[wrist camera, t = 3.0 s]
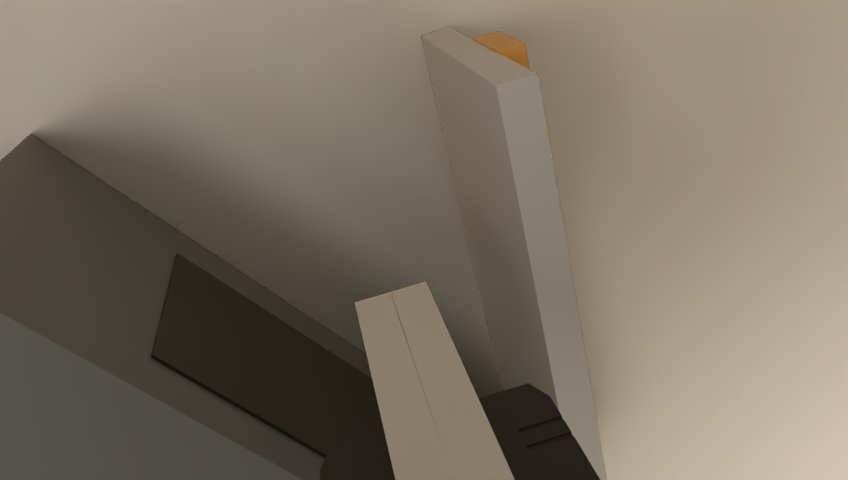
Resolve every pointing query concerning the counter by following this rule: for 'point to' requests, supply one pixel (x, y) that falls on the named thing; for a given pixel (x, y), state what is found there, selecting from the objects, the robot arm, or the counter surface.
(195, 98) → the counter surface
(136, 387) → the box
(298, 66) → the counter surface
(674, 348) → the counter surface
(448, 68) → the side door
